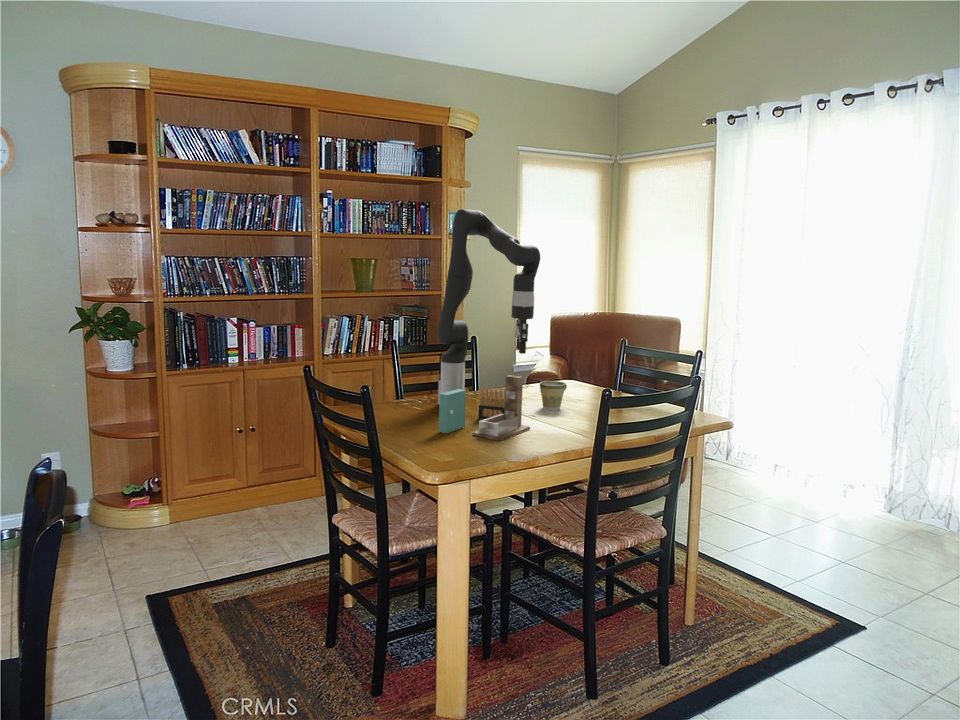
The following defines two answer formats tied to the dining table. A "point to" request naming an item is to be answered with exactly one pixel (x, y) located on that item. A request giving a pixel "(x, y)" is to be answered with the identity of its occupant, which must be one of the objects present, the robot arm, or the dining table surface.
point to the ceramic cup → (552, 394)
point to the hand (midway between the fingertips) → (520, 351)
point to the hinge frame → (506, 414)
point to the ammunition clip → (491, 403)
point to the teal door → (452, 410)
